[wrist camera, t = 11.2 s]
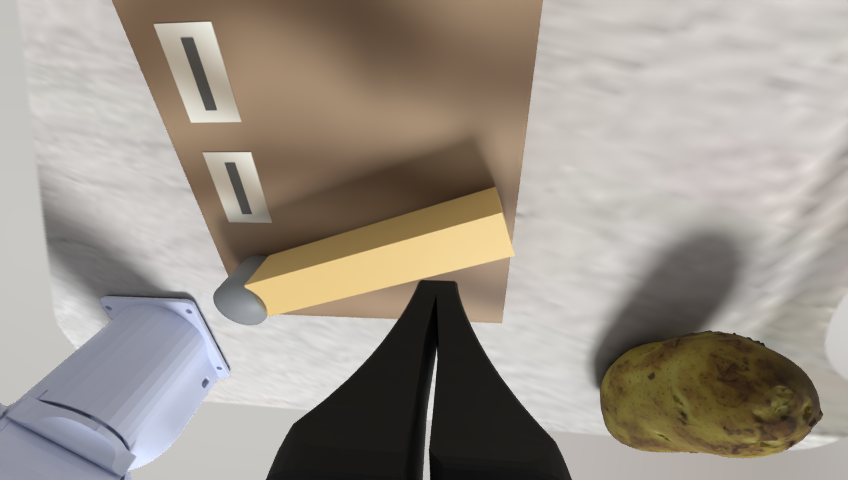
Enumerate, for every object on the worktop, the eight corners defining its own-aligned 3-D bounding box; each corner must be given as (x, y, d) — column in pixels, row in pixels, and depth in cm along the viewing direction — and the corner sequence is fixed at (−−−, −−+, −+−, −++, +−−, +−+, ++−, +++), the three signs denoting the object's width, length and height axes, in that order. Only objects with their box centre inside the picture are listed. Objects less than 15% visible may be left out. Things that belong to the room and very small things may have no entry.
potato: (551, 369, 28) (581, 477, 21) (705, 276, 22) (815, 385, 15) (615, 410, 30) (661, 521, 23) (771, 336, 24) (892, 455, 18)
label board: (499, 308, 25) (502, 324, 24) (254, 299, 27) (243, 313, 25) (544, -73, 14) (553, -83, 13) (119, -48, 16) (87, -55, 14)
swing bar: (259, 297, 24) (235, 329, 21) (231, 262, 22) (202, 292, 20) (508, 230, 19) (516, 261, 17) (494, 180, 18) (500, 206, 15)
